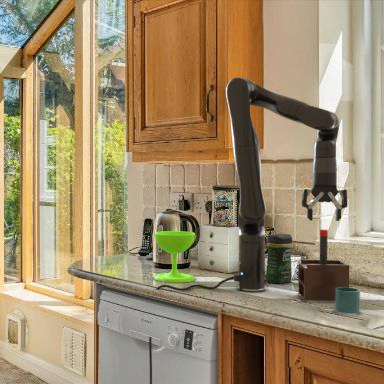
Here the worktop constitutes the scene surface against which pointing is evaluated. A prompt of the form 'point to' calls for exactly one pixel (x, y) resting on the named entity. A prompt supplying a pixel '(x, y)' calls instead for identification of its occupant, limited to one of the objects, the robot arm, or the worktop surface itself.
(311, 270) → the dark wooden crate
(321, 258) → the marker
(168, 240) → the wineglass
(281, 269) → the coffee jar
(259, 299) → the worktop surface
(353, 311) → the pen cup
